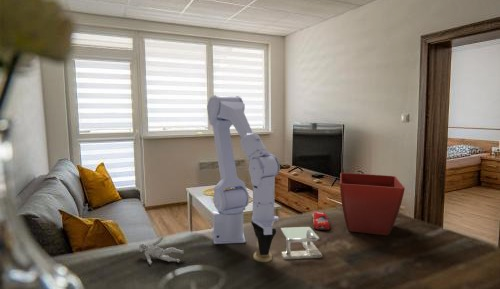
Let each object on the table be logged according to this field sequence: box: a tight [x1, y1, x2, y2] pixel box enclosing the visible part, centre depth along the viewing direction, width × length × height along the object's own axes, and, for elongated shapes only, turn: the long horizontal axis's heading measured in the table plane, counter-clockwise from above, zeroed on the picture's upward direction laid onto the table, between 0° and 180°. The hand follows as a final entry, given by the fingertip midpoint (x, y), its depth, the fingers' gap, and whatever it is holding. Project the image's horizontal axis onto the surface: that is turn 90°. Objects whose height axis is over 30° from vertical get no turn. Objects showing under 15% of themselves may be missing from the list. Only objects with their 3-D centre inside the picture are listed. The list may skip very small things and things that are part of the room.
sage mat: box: [280, 226, 320, 241], centre depth 102 cm, size 10×10×1 cm
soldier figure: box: [138, 235, 185, 265], centre depth 84 cm, size 8×5×12 cm
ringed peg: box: [253, 235, 273, 263], centre depth 85 cm, size 5×5×6 cm
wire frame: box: [281, 230, 323, 260], centre depth 89 cm, size 10×9×5 cm
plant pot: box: [339, 172, 406, 236], centre depth 108 cm, size 19×19×17 cm
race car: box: [311, 211, 330, 231], centre depth 111 cm, size 13×5×4 cm, turn 172°
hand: (262, 250), depth 85 cm, fingers closed on ringed peg, 4 cm apart
